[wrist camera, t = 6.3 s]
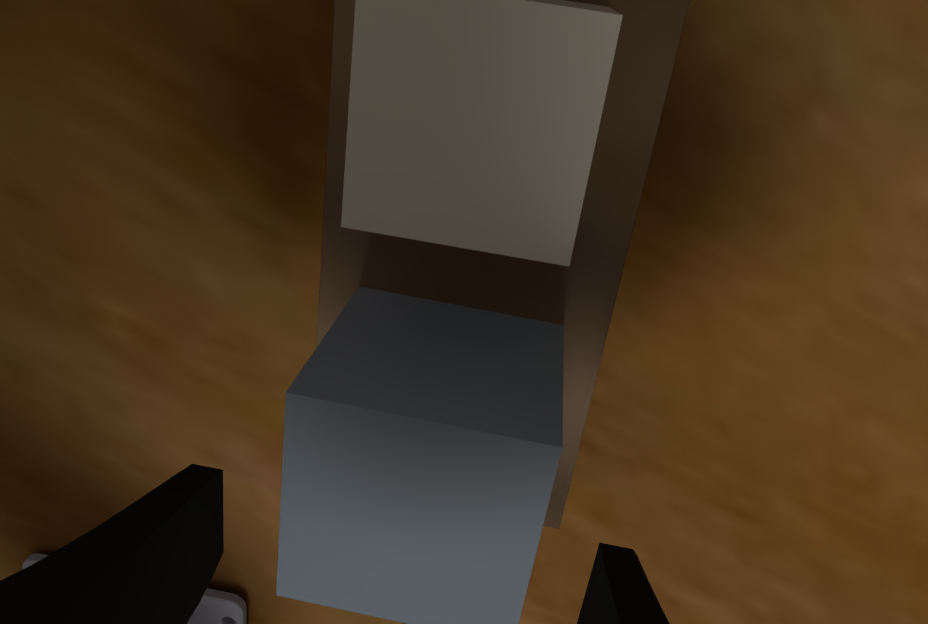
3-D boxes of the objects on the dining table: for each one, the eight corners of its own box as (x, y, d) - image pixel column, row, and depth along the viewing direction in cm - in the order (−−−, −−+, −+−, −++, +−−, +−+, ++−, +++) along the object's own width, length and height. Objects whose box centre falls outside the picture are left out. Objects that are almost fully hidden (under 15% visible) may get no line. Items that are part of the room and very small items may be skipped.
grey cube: (525, 490, 19) (512, 646, 15) (343, 453, 20) (276, 595, 15) (563, 325, 17) (562, 447, 13) (358, 286, 17) (285, 392, 13)
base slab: (559, 482, 21) (558, 528, 20) (331, 438, 22) (309, 479, 20) (683, -36, 15) (699, -38, 14) (365, -83, 16) (340, -90, 14)
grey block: (569, 202, 16) (569, 266, 12) (391, 172, 16) (341, 227, 13) (608, 6, 14) (622, 15, 11) (409, -23, 14) (356, -26, 11)
